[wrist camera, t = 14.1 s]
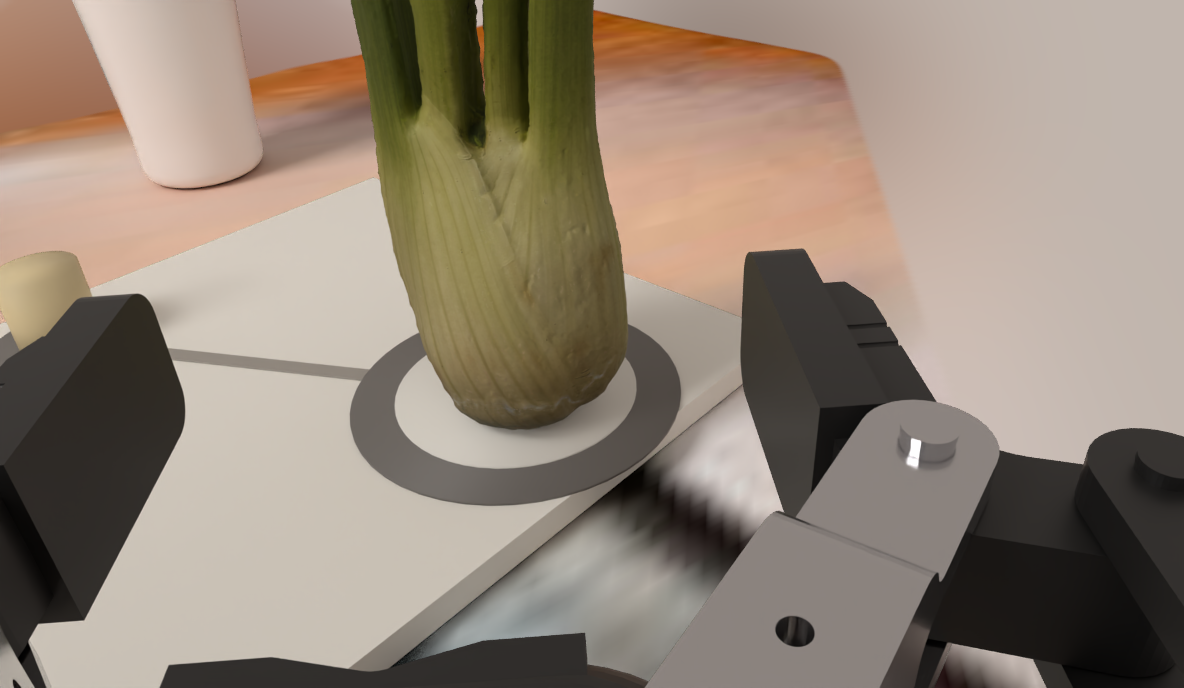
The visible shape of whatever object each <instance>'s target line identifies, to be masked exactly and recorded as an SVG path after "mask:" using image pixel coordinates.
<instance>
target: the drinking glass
mask: <svg viewBox="0 0 1184 688" xmlns="http://www.w3.org/2000/svg"><path fill="white" fill-rule="evenodd" d="M72 1H73V3H74V6H75V8H76V10H77V12H78V15H79V17H80V19H81V22H82V24H83V26H84V28H85V31H86V33H87V35H88V38H89V40H90V42H91V45H92V47H93V49H94V51H95V54H96V56H97V58H98V61H99V63H100V65H101V68H102V70H103V72H104V75H105V77H106V79H107V82H108V84H109V86H110V88H111V91H112V93H113V95H114V98H115V100H116V103H117V105H118V107H119V110H120V112H121V114H122V117H123V119H124V121H125V124H126V126H127V129H128V131H129V133H130V136H131V139H132V142H133V145H134V148H135V151H136V154H137V157H138V160H139V163H140V165H141V168H142V170H143V172H144V174H145V175H146V176H147V177H148V178H149V179H150V180H151V181H153V182H154V183H156V184H159V185H162V186H166V187H172V188H197V187H205V186H211V185H216V184H220V183H224V182H227V181H230V180H233V179H235V178H238V177H240V176H242V175H244V174H246V173H248V172H249V171H251V170H252V169H254V168H255V167H256V166H257V165H258V164H259V162H260V161H261V159H262V156H263V144H262V140H261V136H260V132H259V128H258V124H257V120H256V116H255V111H254V106H253V100H252V94H251V89H250V83H249V77H248V71H247V66H246V59H245V54H244V48H243V42H242V35H241V30H240V24H239V17H238V11H237V5H236V0H72Z"/></svg>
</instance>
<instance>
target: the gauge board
mask: <svg viewBox="0 0 1184 688" xmlns="http://www.w3.org/2000/svg"><path fill="white" fill-rule="evenodd" d="M624 281H625V291H626V301H627V317H628V343H627V350H626V354H625V358H624V361H623V362H622V364H621V366H620V368H619V369H618V371H617V373H616V375H615V376H614V377H613V379H612V380H611V382H610V383H609V384H608V386H607V388H606V390H605V391H604V392H603V393H602V394H600V395H599V397H597V398H596V399H594V400H592V401H591V402H589V403H587V404H584V405H581V406H580V407H578V408H577V409H576V410H575V411H573V412H572V413H571V414H570V415H569V416H568V417H567V418H565V419H564V420H561V421H558V422H556V423H554V424H551V425H547V426H542V427H539V428H535V429H529V430H524V429H517V430H509V429H505V428H496V427H491V426H487V425H482V424H479V423H478V422H476V421H474V420H473V419H471V418H469V417H468V416H466V415H464V414H462V413H461V412H460V411H459V410H458V409H457V408H456V407H455V405H454V402H453V400H452V398H451V397H450V395H449V394H448V393H447V392H446V391H445V389H444V388H443V385H442V383H441V381H440V379H439V377H438V376H437V374H436V372H435V370H434V368H433V366H432V363H431V362H430V361H429V360H428V358H427V353H426V351H425V349H424V347H423V344H422V340H421V337H420V334H419V331H418V328H417V326H416V318H415V314H414V312H413V309H412V307H411V306H410V303H409V298H408V294H407V291H406V288H405V285H404V282H403V280H402V278H401V276H400V273H399V269H398V265H397V261H396V257H395V254H394V252H393V245H392V239H391V233H390V229H389V225H388V221H387V217H386V213H385V208H384V203H383V198H382V194H381V184H380V180H379V179H376V178H371V179H368V180H366V181H363V182H360V183H358V184H355V185H353V186H350V187H348V188H345V189H343V190H340V191H338V192H335V193H332V194H330V195H327V196H325V197H322V198H320V199H317V200H315V201H312V202H310V203H307V204H305V205H302V206H299V207H297V208H294V209H292V210H289V211H287V212H284V213H282V214H279V215H277V216H274V217H271V218H269V219H266V220H264V221H261V222H259V223H256V224H254V225H251V226H249V227H246V228H243V229H241V230H238V231H236V232H233V233H231V234H228V235H226V236H223V237H221V238H218V239H215V240H213V241H210V242H208V243H205V244H203V245H200V246H198V247H195V248H193V249H190V250H188V251H185V252H182V253H180V254H177V255H175V256H172V257H170V258H167V259H165V260H162V261H160V262H157V263H154V264H152V265H149V266H147V267H144V268H142V269H139V270H137V271H134V272H132V273H129V274H126V275H124V276H121V277H119V278H116V279H114V280H111V281H109V282H106V283H104V284H101V285H98V286H96V287H93V288H91V289H89V286H88V284H87V281H86V279H85V276H84V274H83V271H82V269H81V266H80V264H79V261H78V259H77V257H76V256H75V255H74V254H72V253H69V252H63V251H50V252H41V253H36V254H32V255H28V256H24V257H21V258H18V259H15V260H13V261H10V262H8V263H6V264H4V265H2V266H1V267H0V310H1V312H2V314H3V316H4V318H5V321H6V322H4V323H2V324H0V366H1V365H2V364H3V363H4V362H5V361H6V360H7V359H8V358H10V357H11V356H13V355H14V354H16V353H17V352H19V351H20V350H22V349H23V348H25V347H27V346H28V345H30V344H31V343H33V342H34V341H36V340H37V339H39V338H40V337H42V336H46V335H47V333H48V332H49V331H50V330H51V329H52V327H53V326H54V325H55V324H56V323H57V322H58V320H59V319H60V318H61V317H62V316H63V315H64V313H65V312H66V311H67V310H68V309H69V307H70V306H71V305H72V304H73V303H74V302H75V301H76V300H77V299H79V298H82V297H93V296H107V295H122V294H136V293H138V294H142V295H143V296H145V297H146V298H147V299H148V300H149V302H150V303H151V305H152V307H153V309H154V312H155V314H156V317H157V320H158V323H159V325H160V328H161V331H162V334H163V336H164V339H165V342H166V345H167V348H168V350H169V353H170V356H171V359H172V361H173V364H174V367H175V370H176V373H177V375H178V378H179V381H180V384H181V386H182V390H183V394H184V399H185V423H184V428H183V431H182V434H181V436H180V438H179V440H178V442H177V444H176V446H175V448H174V450H173V452H172V453H171V455H170V457H169V459H168V461H167V463H166V465H165V467H164V469H163V471H162V473H161V475H160V476H159V478H158V480H157V482H156V484H155V486H154V488H153V490H152V492H151V494H150V496H149V498H148V499H147V501H146V503H145V505H144V507H143V509H142V511H141V513H140V515H139V517H138V519H137V521H136V522H135V524H134V526H133V528H132V530H131V532H130V534H129V536H128V538H127V540H126V542H125V544H124V545H123V547H122V549H121V551H120V553H119V555H118V557H117V559H116V561H115V563H114V565H113V567H112V568H111V570H110V572H109V574H108V576H107V578H106V580H105V582H104V584H103V586H102V588H101V590H100V591H99V593H98V595H97V597H96V599H95V601H94V603H93V605H92V607H91V609H90V611H89V613H88V614H87V616H86V618H85V620H84V621H72V622H59V623H45V624H38V625H37V627H36V629H35V630H34V632H33V634H32V636H31V637H30V639H29V640H30V642H31V643H32V645H33V647H34V649H35V650H36V652H37V654H38V656H39V657H40V660H41V662H42V665H43V667H44V670H45V672H46V674H47V677H48V679H49V682H50V684H51V687H52V688H160V685H161V683H162V680H163V678H164V675H165V673H166V670H167V668H168V665H174V664H187V663H200V662H213V661H226V660H239V659H252V658H265V657H275V658H281V659H288V660H294V661H301V662H307V663H314V664H320V665H327V666H333V667H340V668H346V669H353V670H359V671H369V672H370V671H380V670H384V669H388V668H390V667H391V666H392V665H393V664H395V663H396V662H397V661H398V660H400V659H401V658H402V657H403V656H404V655H406V654H407V653H408V652H409V651H411V650H412V649H413V648H414V647H416V646H417V645H418V644H419V643H421V642H422V641H423V640H424V639H426V638H427V637H428V636H429V635H431V634H432V633H433V632H434V631H436V630H437V629H438V628H439V627H441V626H442V625H443V624H444V623H446V622H447V621H448V620H449V619H451V618H452V617H453V616H454V615H456V614H457V613H458V612H459V611H460V610H462V609H463V608H464V607H465V606H467V605H468V604H469V603H470V602H472V601H473V600H474V599H475V598H477V597H478V596H479V595H480V594H482V593H483V592H484V591H485V590H487V589H488V588H489V587H490V586H492V585H493V584H494V583H495V582H497V581H498V580H499V579H500V578H502V577H503V576H504V575H505V574H507V573H508V572H509V571H510V570H512V569H513V568H514V567H515V566H517V565H518V564H519V563H520V562H521V561H523V560H524V559H525V558H526V557H528V556H529V555H530V554H531V553H533V552H534V551H535V550H536V549H538V548H539V547H540V546H541V545H543V544H544V543H545V542H546V541H548V540H549V539H550V538H551V537H553V536H554V535H555V534H556V533H558V532H559V531H560V530H561V529H563V528H564V527H565V526H566V525H568V524H569V523H570V522H571V521H573V520H574V519H575V518H576V517H578V516H579V515H580V514H581V513H582V512H584V511H585V510H586V509H587V508H589V507H590V506H591V505H592V504H594V503H595V502H596V501H597V500H599V499H600V498H601V497H602V496H604V495H605V494H606V493H607V492H609V491H610V490H611V489H612V488H614V487H615V486H616V485H617V484H619V483H620V482H621V481H622V480H624V479H625V478H626V477H627V476H629V475H630V474H631V473H632V472H634V471H635V470H636V469H637V468H639V467H640V466H641V465H642V464H643V463H645V462H646V461H647V460H648V459H650V458H651V457H652V456H653V455H655V454H656V453H657V452H658V451H660V450H661V449H662V448H663V447H665V446H666V445H667V444H668V443H670V442H671V441H672V440H673V439H675V438H676V437H677V436H678V435H680V434H681V433H682V432H683V431H685V430H686V429H687V428H688V427H690V426H691V425H692V424H693V423H695V422H696V421H697V420H698V419H700V418H701V417H702V416H703V415H704V414H706V413H707V412H708V411H709V410H711V409H712V408H713V407H714V406H716V405H717V404H718V403H719V402H721V401H722V400H723V399H724V398H726V397H727V396H728V395H729V394H731V393H732V392H733V391H734V390H736V389H737V388H738V387H739V386H741V385H742V384H743V382H742V375H741V362H740V346H741V324H742V318H741V317H739V316H736V315H733V314H731V313H728V312H726V311H723V310H720V309H718V308H715V307H712V306H710V305H707V304H705V303H702V302H699V301H697V300H694V299H691V298H689V297H686V296H684V295H681V294H678V293H676V292H673V291H670V290H668V289H665V288H663V287H660V286H657V285H655V284H652V283H649V282H647V281H644V280H642V279H639V278H636V277H634V276H631V275H628V274H626V273H624Z"/></svg>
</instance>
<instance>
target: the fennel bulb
mask: <svg viewBox="0 0 1184 688" xmlns="http://www.w3.org/2000/svg"><path fill="white" fill-rule="evenodd" d="M593 2H594V0H483V5H482V8H483V30H484V78H485V96H484V92H483V83H484V81H483V77H482V68H481V63H480V46H479V42H478V36H477V30H476V23H477V21H476V15H477V8H476V5H475V0H351V4H352V8H353V15H354V18H355V22H356V28H357V33H358V36H359V41H360V45H361V50H362V56H363V59H364V62H365V69H366V78H367V85H368V90H369V97H370V102H371V115H372V122H373V127H374V138H375V141H376V145H377V147H376V155H377V163H378V174H379V176H380V184H381V194H382V198H383V203H384V208H385V213H386V217H387V221H388V225H389V229H390V233H391V239H392V245H393V252H394V254H395V257H396V261H397V265H398V269H399V273H400V276H401V278H402V280H403V282H404V285H405V288H406V291H407V294H408V298H409V303H410V306H411V307H412V309H413V312H414V314H415V318H416V326H417V328H418V331H419V334H420V337H421V340H422V344H423V347H424V349H425V351H426V353H427V358H428V360H429V361H430V362H431V363H432V366H433V368H434V370H435V372H436V374H437V376H438V377H439V379H440V381H441V383H442V385H443V388H444V389H445V391H446V392H447V393H448V394H449V395H450V397H451V398H452V400H453V402H454V405H455V407H456V408H457V409H458V410H459V411H460V412H461V413H462V414H464V415H466V416H468V417H469V418H471V419H473V420H474V421H476V422H478V423H479V424H482V425H487V426H491V427H496V428H505V429H509V430H517V429H524V430H529V429H535V428H539V427H542V426H547V425H551V424H554V423H556V422H558V421H561V420H564V419H565V418H567V417H568V416H569V415H570V414H571V413H572V412H573V411H575V410H576V409H577V408H578V407H580V406H581V405H584V404H587V403H589V402H591V401H592V400H594V399H596V398H597V397H599V395H600V394H602V393H603V392H604V391H605V390H606V388H607V386H608V384H609V383H610V382H611V380H612V379H613V377H614V376H615V375H616V373H617V371H618V369H619V368H620V366H621V364H622V362H623V361H624V358H625V354H626V350H627V343H628V317H627V301H626V291H625V281H624V272H623V264H622V254H621V245H620V241H619V237H618V231H617V229H616V222H615V218H614V216H613V211H612V207H611V204H610V202H609V197H608V191H607V187H606V182H605V178H604V171H603V165H602V160H601V155H600V148H599V143H598V135H597V129H596V113H595V76H594V51H593V5H594V3H593ZM485 100H486V101H485Z"/></svg>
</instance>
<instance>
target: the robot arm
mask: <svg viewBox="0 0 1184 688" xmlns="http://www.w3.org/2000/svg"><path fill="white" fill-rule="evenodd" d="M740 362H741V375H742V382H743V388H744V392H745V396H746V399H747V402H748V405H749V408H750V411H751V414H752V417H753V420H754V423H755V426H756V429H757V432H758V435H759V438H760V441H761V444H762V447H763V450H764V453H765V456H766V459H767V462H768V465H769V468H770V471H771V474H772V477H773V480H774V483H775V486H776V489H777V492H778V495H779V498H780V501H781V504H782V507H783V510H784V513H783V512H781V511H775V512H773V513H772V514H770V515H769V516H768V517H767V518H766V519H765V521H764V522H763V523H762V525H761V526H760V527H759V529H758V530H757V531H756V533H755V534H754V536H753V537H752V538H751V540H750V541H749V543H748V544H747V545H746V547H745V548H744V550H743V551H742V552H741V554H740V555H739V557H738V558H737V559H736V561H735V562H734V564H733V565H732V566H731V568H730V569H729V571H728V572H727V573H726V575H725V576H724V578H723V579H722V580H721V582H720V583H719V585H718V586H717V587H716V589H715V590H714V592H713V593H712V594H711V596H710V597H709V599H708V600H707V601H706V603H705V604H704V606H703V607H702V608H701V610H700V611H699V612H698V614H697V615H696V617H695V618H694V619H693V621H692V622H691V624H690V625H689V626H688V628H687V629H686V631H685V632H684V633H683V635H682V636H681V638H680V639H679V640H678V642H677V643H676V645H675V646H674V647H673V649H672V650H671V652H670V653H669V654H668V656H667V657H666V659H665V660H664V661H663V663H662V664H661V666H660V667H659V668H658V670H657V671H656V673H655V674H654V675H653V677H652V678H651V680H650V681H649V682H648V681H646V680H643V679H641V678H639V677H636V676H634V675H631V674H628V673H624V672H620V671H617V670H613V669H610V668H605V667H599V666H593V665H588V663H587V650H586V638H585V633H577V634H564V635H551V636H538V637H525V638H512V639H499V640H486V641H481V642H477V643H474V644H470V645H467V646H464V647H460V648H457V649H453V650H450V651H446V652H443V653H439V654H436V655H433V656H429V657H426V658H422V659H419V660H415V661H412V662H409V663H405V664H402V665H398V666H395V667H391V668H388V669H384V670H380V671H370V672H369V671H359V670H353V669H346V668H340V667H333V666H327V665H320V664H314V663H307V662H301V661H294V660H288V659H281V658H275V657H265V658H252V659H239V660H226V661H213V662H200V663H187V664H174V665H168V668H167V670H166V673H165V675H164V678H163V680H162V683H161V685H160V688H934V686H935V684H936V682H937V679H938V677H939V675H940V672H941V670H942V667H943V665H944V663H945V660H946V658H947V656H948V653H949V651H950V648H951V646H952V643H953V644H958V645H963V646H968V647H974V648H979V649H984V650H989V651H994V652H999V653H1005V654H1010V655H1015V656H1020V657H1025V658H1030V659H1033V660H1034V662H1035V664H1036V666H1037V668H1038V671H1039V673H1040V675H1041V677H1042V679H1043V681H1044V683H1045V685H1046V687H1047V688H1184V437H1183V436H1179V435H1176V434H1173V433H1169V432H1164V431H1159V430H1151V429H1142V428H1139V429H1138V428H1129V429H1119V430H1115V431H1111V432H1108V433H1105V434H1103V435H1101V436H1099V437H1098V438H1097V439H1095V440H1094V441H1093V443H1092V444H1091V445H1090V446H1089V449H1088V452H1087V455H1086V458H1085V461H1084V464H1083V465H1082V464H1076V463H1069V462H1061V461H1054V460H1046V459H1040V458H1032V457H1026V456H1021V455H1015V454H1011V453H1007V452H1004V451H1000V450H999V445H998V443H997V440H996V438H995V436H994V435H993V433H992V432H991V431H990V430H989V429H988V427H987V426H986V425H984V424H983V423H982V422H981V421H979V420H978V419H977V418H975V417H973V416H972V415H970V414H968V413H966V412H964V411H962V410H960V409H958V408H955V407H952V406H949V405H946V404H942V403H938V402H936V400H935V399H934V397H933V395H932V394H931V392H930V391H929V389H928V387H927V386H926V384H925V383H924V381H923V380H922V378H921V376H920V375H919V373H918V372H917V370H916V368H915V367H914V365H913V364H912V362H911V360H910V359H909V357H908V356H907V354H906V352H905V351H904V349H903V348H902V346H901V345H900V346H899V345H898V340H897V338H896V336H895V335H894V333H893V332H892V330H891V328H890V327H887V322H886V320H885V319H884V317H883V316H882V314H881V312H880V311H879V309H878V308H877V306H876V305H875V303H874V301H873V300H872V299H870V298H869V297H867V296H866V295H864V294H863V293H861V292H860V291H858V290H857V289H855V288H854V287H852V286H851V285H849V284H848V283H846V282H832V283H823V282H822V280H821V278H820V276H819V274H818V273H817V271H816V269H815V267H814V265H813V263H812V262H811V260H810V258H809V256H808V254H807V253H806V251H805V250H804V249H789V250H775V251H760V252H749V253H748V254H747V256H746V259H745V265H744V281H743V303H742V324H741V346H740ZM184 423H185V399H184V394H183V390H182V386H181V384H180V381H179V378H178V375H177V373H176V370H175V367H174V364H173V361H172V359H171V356H170V353H169V350H168V348H167V345H166V342H165V339H164V336H163V334H162V331H161V328H160V325H159V323H158V320H157V317H156V314H155V312H154V309H153V307H152V305H151V303H150V302H149V300H148V299H147V298H146V297H145V296H143V295H142V294H138V293H136V294H122V295H107V296H93V297H82V298H79V299H77V300H76V301H75V302H74V303H73V304H72V305H71V306H70V307H69V309H68V310H67V311H66V312H65V313H64V315H63V316H62V317H61V318H60V319H59V320H58V322H57V323H56V324H55V325H54V326H53V327H52V329H51V330H50V331H49V332H48V333H47V335H46V336H42V337H40V338H39V339H37V340H36V341H34V342H33V343H31V344H30V345H28V346H27V347H25V348H23V349H22V350H20V351H19V352H17V353H16V354H14V355H13V356H11V357H10V358H8V359H7V360H6V361H5V362H4V363H3V364H2V365H1V366H0V688H52V687H51V684H50V682H49V679H48V677H47V674H46V672H45V670H44V667H43V665H42V662H41V660H40V657H39V656H38V654H37V652H36V650H35V649H34V647H33V645H32V643H31V642H30V640H29V639H30V637H31V636H32V634H33V632H34V630H35V629H36V627H37V625H38V624H45V623H59V622H72V621H84V620H85V618H86V616H87V614H88V613H89V611H90V609H91V607H92V605H93V603H94V601H95V599H96V597H97V595H98V593H99V591H100V590H101V588H102V586H103V584H104V582H105V580H106V578H107V576H108V574H109V572H110V570H111V568H112V567H113V565H114V563H115V561H116V559H117V557H118V555H119V553H120V551H121V549H122V547H123V545H124V544H125V542H126V540H127V538H128V536H129V534H130V532H131V530H132V528H133V526H134V524H135V522H136V521H137V519H138V517H139V515H140V513H141V511H142V509H143V507H144V505H145V503H146V501H147V499H148V498H149V496H150V494H151V492H152V490H153V488H154V486H155V484H156V482H157V480H158V478H159V476H160V475H161V473H162V471H163V469H164V467H165V465H166V463H167V461H168V459H169V457H170V455H171V453H172V452H173V450H174V448H175V446H176V444H177V442H178V440H179V438H180V436H181V434H182V431H183V428H184Z"/></svg>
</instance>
